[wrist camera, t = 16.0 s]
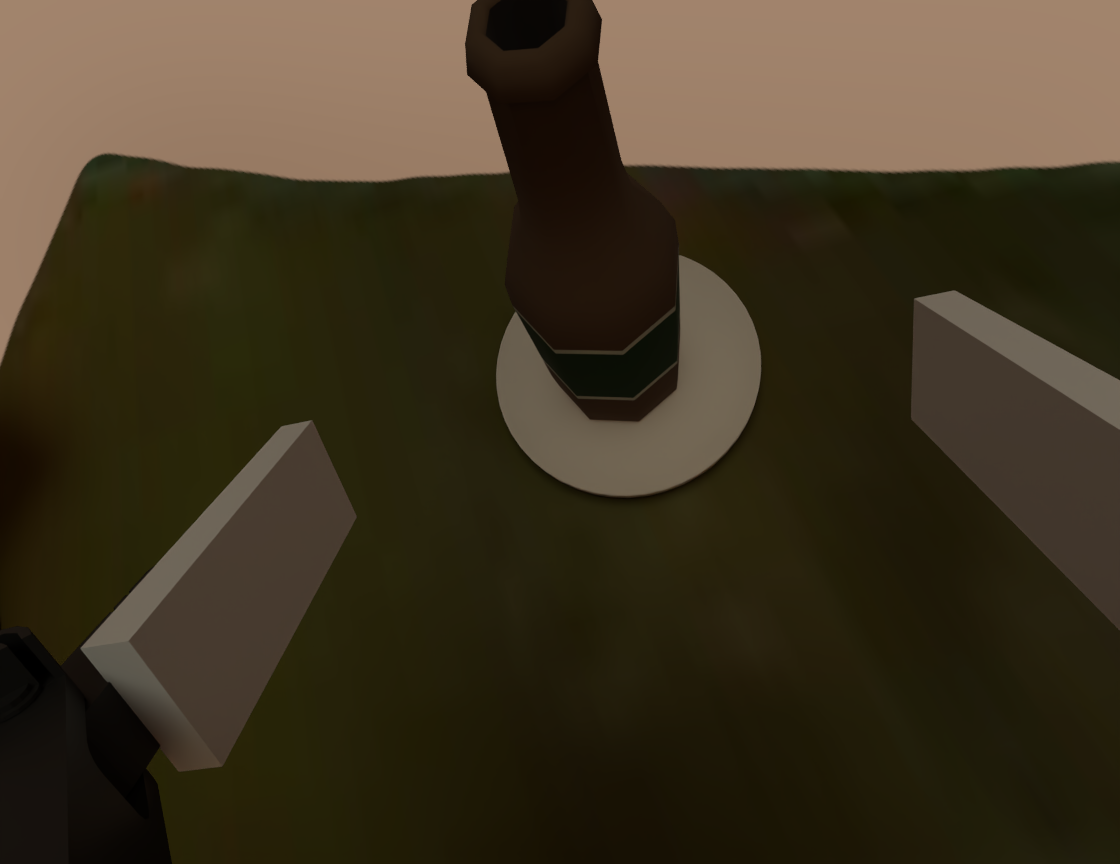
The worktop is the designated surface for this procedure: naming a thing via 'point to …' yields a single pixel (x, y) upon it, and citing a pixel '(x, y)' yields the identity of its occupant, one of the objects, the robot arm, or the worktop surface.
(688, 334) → the dish
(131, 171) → the worktop surface
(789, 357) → the worktop surface
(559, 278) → the beer bottle
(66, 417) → the worktop surface
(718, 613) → the worktop surface
